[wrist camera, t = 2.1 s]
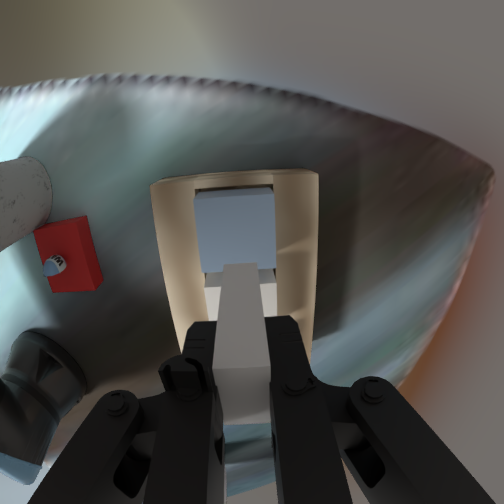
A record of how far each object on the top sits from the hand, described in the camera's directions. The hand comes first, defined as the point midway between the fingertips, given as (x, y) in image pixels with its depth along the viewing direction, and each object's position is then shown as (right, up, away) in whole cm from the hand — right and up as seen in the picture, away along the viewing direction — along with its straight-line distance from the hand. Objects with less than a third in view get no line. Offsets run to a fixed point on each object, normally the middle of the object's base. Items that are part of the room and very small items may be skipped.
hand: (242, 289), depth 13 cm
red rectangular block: (-21, +2, +16) cm, 27 cm away
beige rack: (-1, -1, +18) cm, 18 cm away
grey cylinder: (-27, +9, +13) cm, 32 cm away
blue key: (-1, +4, +11) cm, 11 cm away
